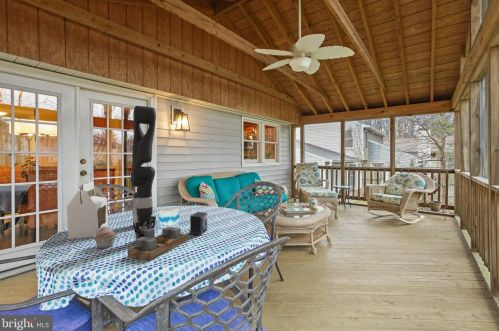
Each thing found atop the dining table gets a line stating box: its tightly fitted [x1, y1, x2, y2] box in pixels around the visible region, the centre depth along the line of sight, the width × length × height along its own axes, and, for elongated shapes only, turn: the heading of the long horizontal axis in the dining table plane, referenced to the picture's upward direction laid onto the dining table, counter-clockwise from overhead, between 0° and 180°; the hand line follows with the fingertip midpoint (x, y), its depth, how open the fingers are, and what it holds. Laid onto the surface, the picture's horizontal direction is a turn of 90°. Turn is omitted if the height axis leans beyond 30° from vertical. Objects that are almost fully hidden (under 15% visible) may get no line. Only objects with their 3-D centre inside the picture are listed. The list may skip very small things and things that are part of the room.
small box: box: [189, 211, 208, 236], centre depth 148 cm, size 11×6×10 cm, turn 168°
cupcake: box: [93, 226, 117, 249], centre depth 126 cm, size 9×9×10 cm
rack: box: [127, 226, 188, 262], centre depth 123 cm, size 12×26×7 cm, turn 159°
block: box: [135, 227, 156, 240], centre depth 134 cm, size 8×4×6 cm, turn 69°
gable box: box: [66, 181, 109, 240], centre depth 148 cm, size 22×13×28 cm, turn 13°
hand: (145, 239), depth 134 cm, fingers open, 5 cm apart
